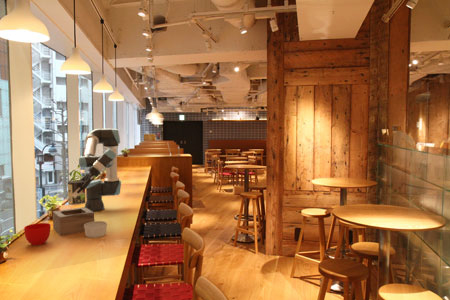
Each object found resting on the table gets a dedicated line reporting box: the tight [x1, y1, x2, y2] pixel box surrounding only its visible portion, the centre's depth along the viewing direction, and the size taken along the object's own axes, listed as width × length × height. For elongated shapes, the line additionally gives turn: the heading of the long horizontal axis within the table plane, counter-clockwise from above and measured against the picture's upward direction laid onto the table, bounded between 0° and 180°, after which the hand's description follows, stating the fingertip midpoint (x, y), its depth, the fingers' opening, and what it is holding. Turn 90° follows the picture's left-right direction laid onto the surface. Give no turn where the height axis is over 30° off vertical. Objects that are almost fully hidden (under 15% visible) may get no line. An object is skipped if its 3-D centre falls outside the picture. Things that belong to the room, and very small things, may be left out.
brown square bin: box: [52, 206, 95, 237], centre depth 225 cm, size 20×20×12 cm
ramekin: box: [84, 220, 108, 239], centre depth 212 cm, size 13×13×7 cm
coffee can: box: [67, 180, 86, 206], centre depth 225 cm, size 10×10×14 cm
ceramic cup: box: [23, 222, 51, 246], centre depth 198 cm, size 13×17×10 cm
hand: (71, 195), depth 223 cm, fingers closed on coffee can, 10 cm apart
